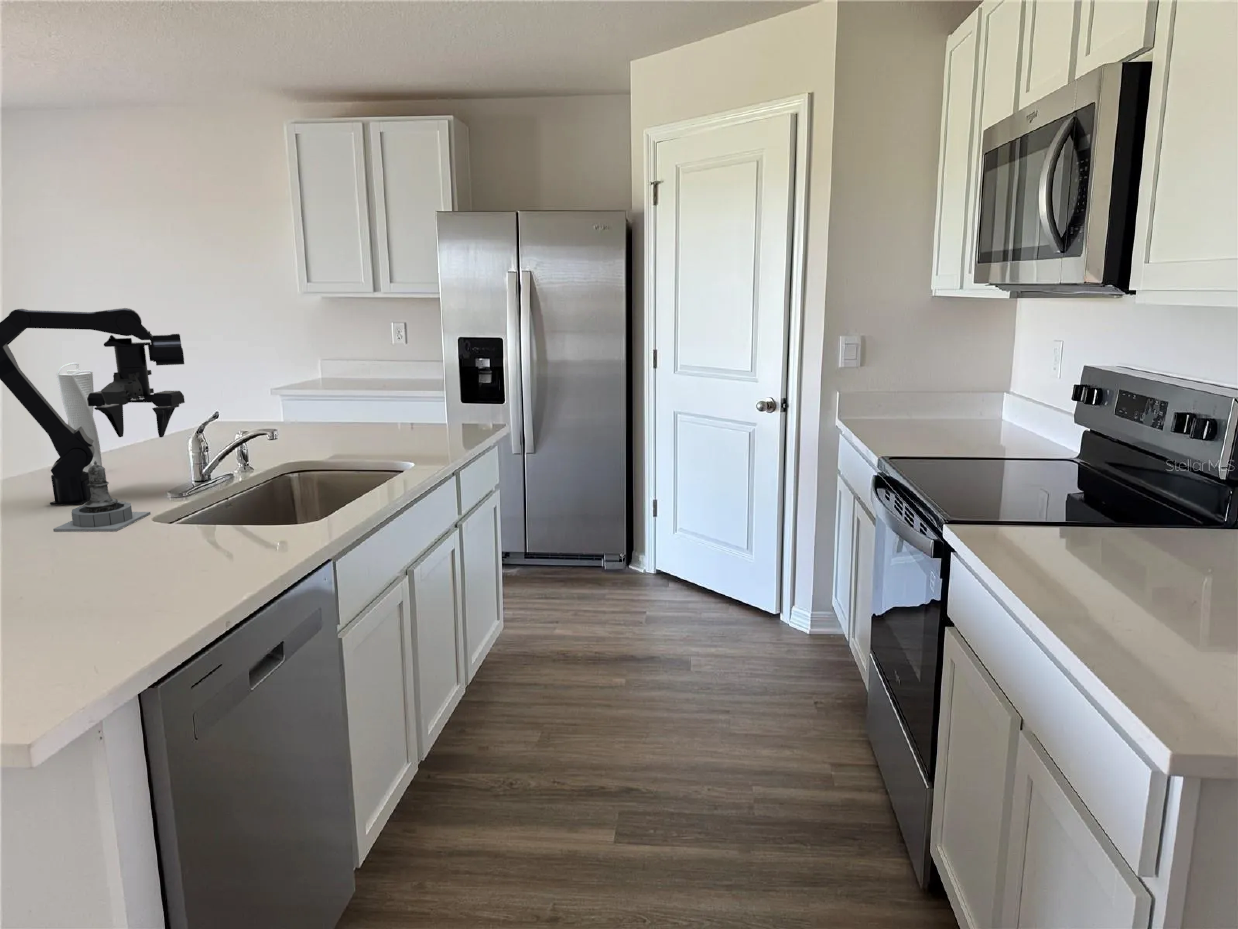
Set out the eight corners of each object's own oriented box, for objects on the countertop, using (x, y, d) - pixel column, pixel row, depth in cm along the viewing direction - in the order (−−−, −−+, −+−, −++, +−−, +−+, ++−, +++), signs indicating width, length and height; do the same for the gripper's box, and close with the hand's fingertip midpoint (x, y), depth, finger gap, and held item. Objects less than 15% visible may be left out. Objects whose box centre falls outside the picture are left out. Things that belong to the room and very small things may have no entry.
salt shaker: (127, 516, 167) (119, 458, 164) (106, 524, 161) (97, 464, 158) (100, 515, 167) (92, 457, 165) (78, 523, 162) (69, 463, 159)
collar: (53, 531, 158) (51, 516, 158) (92, 514, 170) (90, 500, 169) (116, 531, 158) (114, 516, 158) (150, 514, 170) (148, 500, 170)
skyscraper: (70, 475, 205) (54, 362, 199) (108, 472, 209) (93, 361, 203) (65, 483, 198) (47, 365, 192) (104, 479, 201) (88, 364, 195)
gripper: (64, 370, 173) (75, 443, 176) (152, 370, 172) (161, 444, 175) (99, 365, 184) (109, 434, 187) (181, 365, 183) (189, 434, 186)
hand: (141, 437), depth 184 cm, fingers open, 9 cm apart
